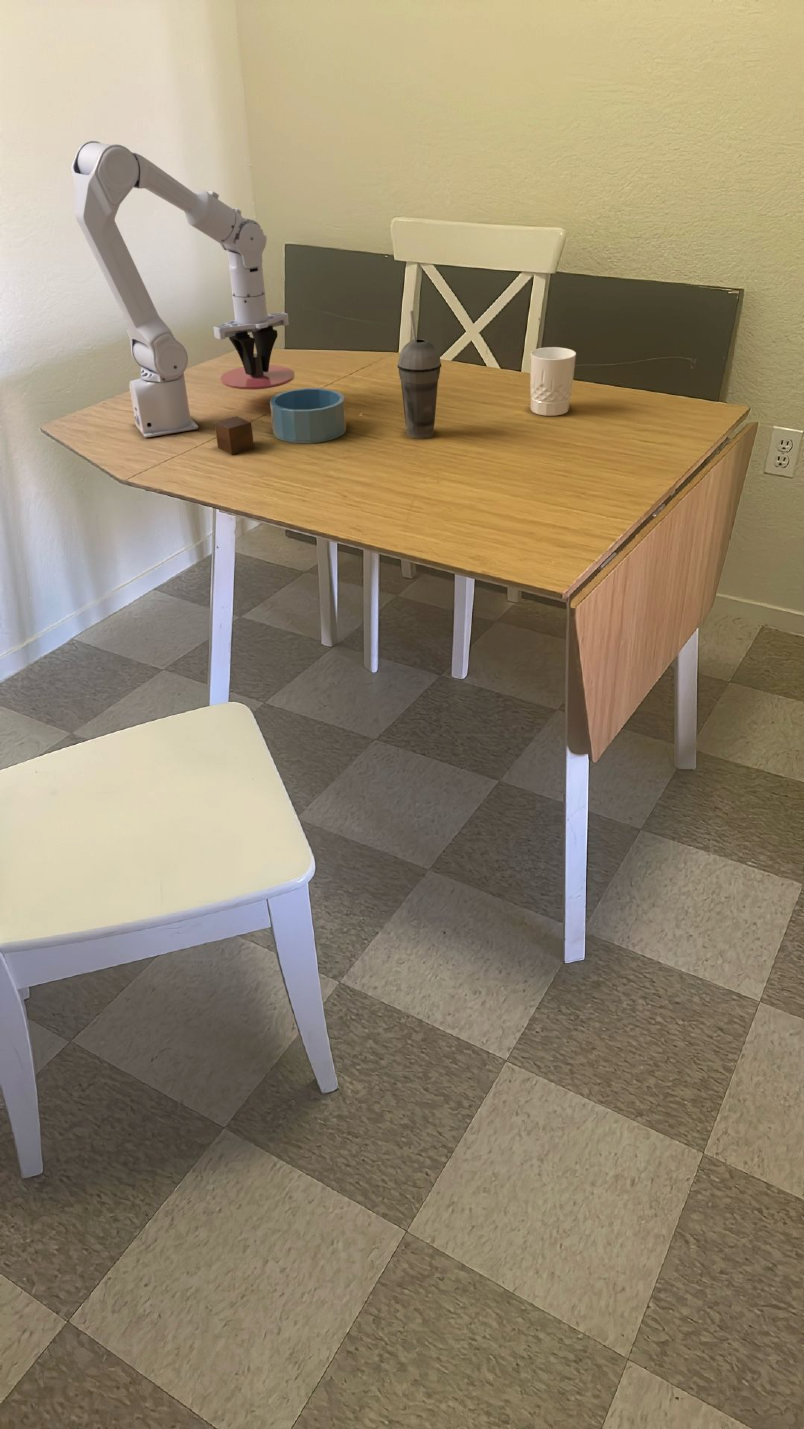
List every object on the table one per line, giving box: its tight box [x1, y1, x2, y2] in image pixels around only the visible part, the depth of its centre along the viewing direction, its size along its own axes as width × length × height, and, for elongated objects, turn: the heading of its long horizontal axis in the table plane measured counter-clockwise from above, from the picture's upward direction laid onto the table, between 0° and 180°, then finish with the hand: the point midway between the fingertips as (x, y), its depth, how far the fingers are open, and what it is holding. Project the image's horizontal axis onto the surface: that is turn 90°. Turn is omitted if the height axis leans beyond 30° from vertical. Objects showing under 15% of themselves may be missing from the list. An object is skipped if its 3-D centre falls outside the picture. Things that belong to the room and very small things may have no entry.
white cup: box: [529, 346, 577, 417], centre depth 172 cm, size 8×8×10 cm
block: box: [214, 415, 255, 455], centre depth 162 cm, size 4×4×4 cm
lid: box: [219, 353, 296, 391], centre depth 178 cm, size 14×14×5 cm
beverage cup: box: [397, 310, 442, 440], centre depth 161 cm, size 7×7×20 cm
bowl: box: [269, 387, 347, 444], centre depth 168 cm, size 13×13×6 cm
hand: (257, 372), depth 178 cm, fingers closed on lid, 2 cm apart
